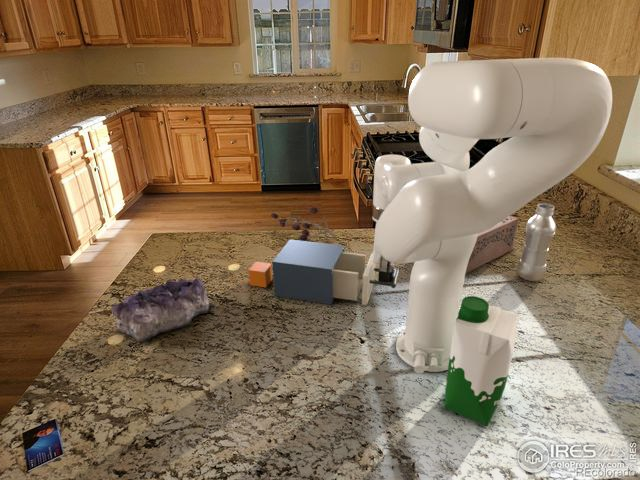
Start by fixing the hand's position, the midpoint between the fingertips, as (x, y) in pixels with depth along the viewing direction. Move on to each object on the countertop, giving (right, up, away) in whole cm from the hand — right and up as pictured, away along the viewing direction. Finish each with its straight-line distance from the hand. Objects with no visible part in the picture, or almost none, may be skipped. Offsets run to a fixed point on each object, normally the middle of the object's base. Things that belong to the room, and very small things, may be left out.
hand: (385, 283), depth 101 cm
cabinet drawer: (-7, -2, +3) cm, 8 cm away
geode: (-50, -8, -6) cm, 51 cm away
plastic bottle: (+39, 0, +10) cm, 40 cm away
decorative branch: (-21, +13, +37) cm, 44 cm away
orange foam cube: (-31, 0, +9) cm, 32 cm away
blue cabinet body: (-18, -1, +7) cm, 19 cm away
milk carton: (+10, -18, -28) cm, 35 cm away
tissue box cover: (+26, +6, +22) cm, 35 cm away
